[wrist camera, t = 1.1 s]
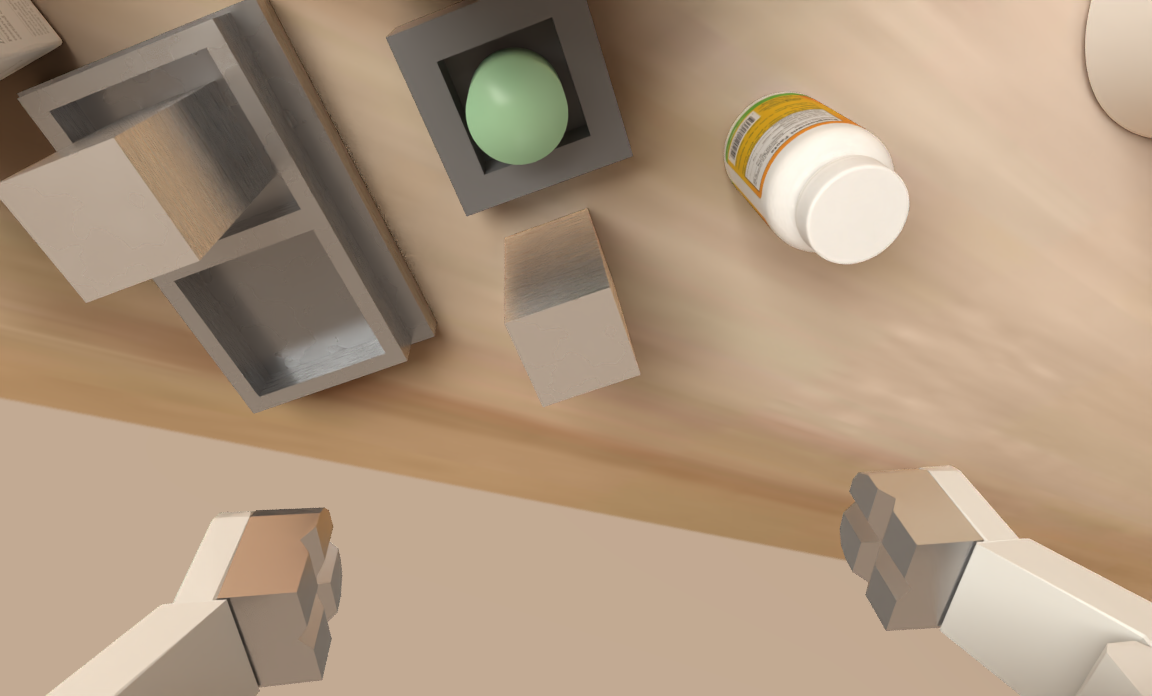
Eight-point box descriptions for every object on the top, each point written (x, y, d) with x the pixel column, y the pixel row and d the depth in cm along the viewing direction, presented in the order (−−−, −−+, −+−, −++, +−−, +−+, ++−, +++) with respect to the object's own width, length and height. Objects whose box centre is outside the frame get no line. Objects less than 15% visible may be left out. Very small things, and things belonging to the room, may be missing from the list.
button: (544, 32, 29) (547, 44, 26) (575, 125, 31) (581, 144, 28) (453, 67, 29) (448, 82, 27) (490, 157, 31) (489, 178, 29)
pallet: (264, -8, 29) (160, 25, 21) (436, 322, 38) (415, 445, 29) (37, 86, 31) (-157, 155, 22) (255, 385, 39) (182, 522, 30)
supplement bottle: (835, 177, 36) (934, 255, 28) (733, 213, 36) (800, 299, 28) (821, 72, 33) (925, 124, 25) (710, 112, 34) (777, 175, 25)
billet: (587, 208, 36) (609, 287, 28) (613, 282, 38) (640, 374, 30) (504, 237, 36) (504, 323, 28) (535, 309, 38) (542, 406, 31)
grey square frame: (569, -42, 30) (575, -37, 27) (623, 138, 34) (633, 155, 31) (395, 27, 31) (385, 37, 28) (469, 194, 35) (466, 216, 32)
